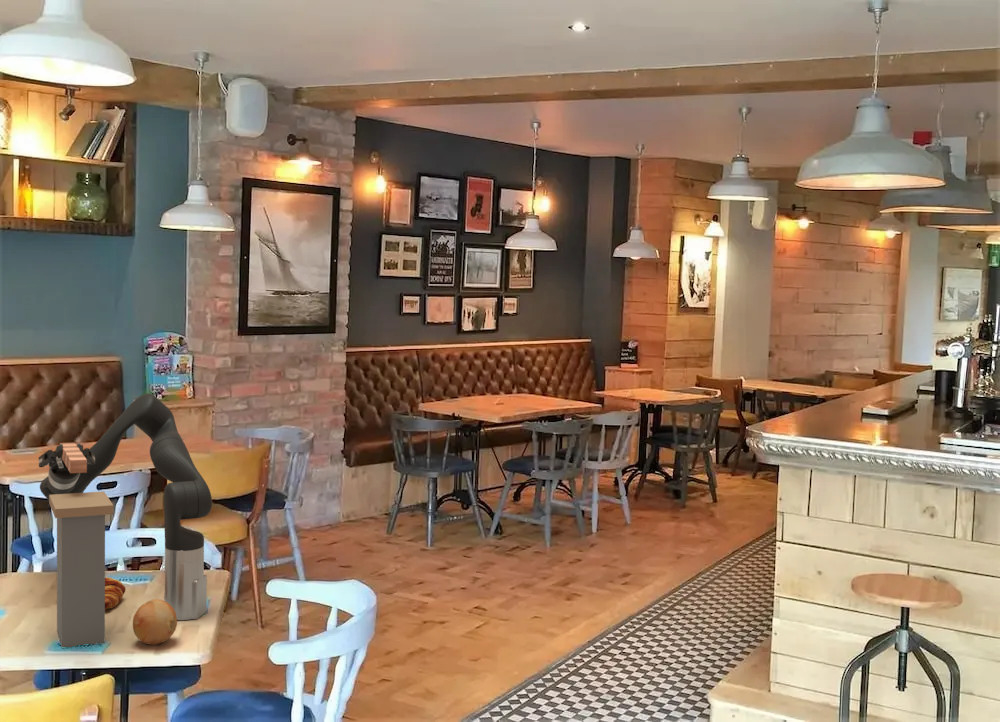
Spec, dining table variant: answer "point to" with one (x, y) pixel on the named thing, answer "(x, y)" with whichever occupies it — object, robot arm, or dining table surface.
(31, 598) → the dining table surface
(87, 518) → the stand
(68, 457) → the batten
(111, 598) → the croissant
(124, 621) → the dining table surface
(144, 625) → the onion
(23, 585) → the dining table surface
